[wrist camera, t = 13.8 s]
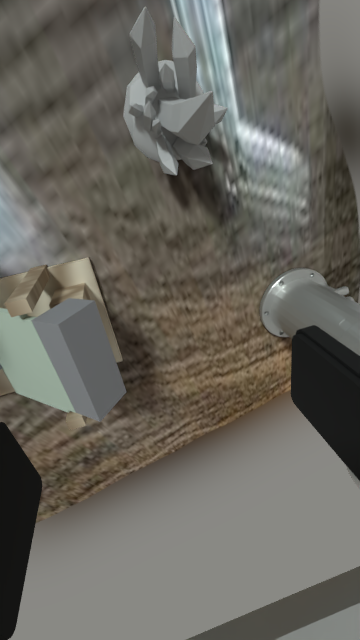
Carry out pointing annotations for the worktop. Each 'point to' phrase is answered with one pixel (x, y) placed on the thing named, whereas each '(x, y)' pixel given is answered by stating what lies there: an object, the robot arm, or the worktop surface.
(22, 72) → the worktop surface
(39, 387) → the trapdoor
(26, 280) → the frame
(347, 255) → the worktop surface
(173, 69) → the crystal
